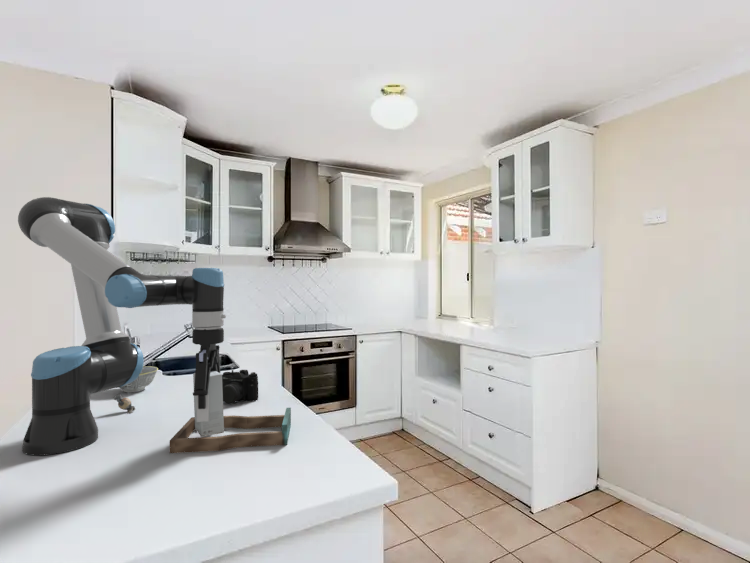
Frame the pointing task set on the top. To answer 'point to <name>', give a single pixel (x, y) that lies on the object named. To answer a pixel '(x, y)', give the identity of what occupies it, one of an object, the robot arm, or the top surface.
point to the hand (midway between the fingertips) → (208, 414)
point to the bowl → (141, 380)
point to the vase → (124, 403)
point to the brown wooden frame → (203, 444)
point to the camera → (239, 386)
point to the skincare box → (212, 407)
